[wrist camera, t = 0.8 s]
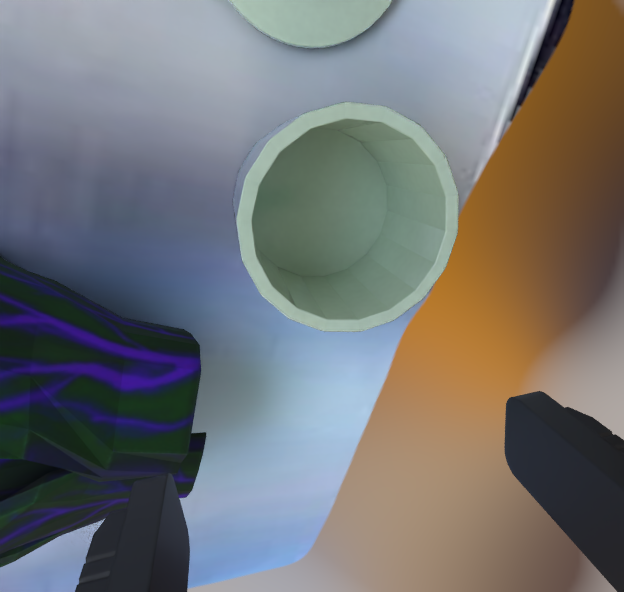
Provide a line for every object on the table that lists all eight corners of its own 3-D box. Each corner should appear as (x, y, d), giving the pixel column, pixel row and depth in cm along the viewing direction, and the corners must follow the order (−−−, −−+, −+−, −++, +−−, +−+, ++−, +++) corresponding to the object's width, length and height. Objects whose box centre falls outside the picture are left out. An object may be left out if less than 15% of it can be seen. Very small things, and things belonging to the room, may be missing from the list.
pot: (208, 144, 32) (202, 142, 22) (376, 97, 33) (441, 74, 23) (261, 303, 36) (275, 360, 26) (408, 256, 37) (474, 294, 28)
